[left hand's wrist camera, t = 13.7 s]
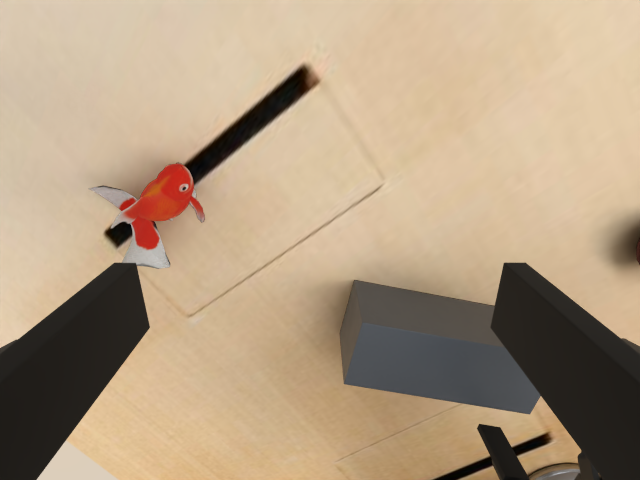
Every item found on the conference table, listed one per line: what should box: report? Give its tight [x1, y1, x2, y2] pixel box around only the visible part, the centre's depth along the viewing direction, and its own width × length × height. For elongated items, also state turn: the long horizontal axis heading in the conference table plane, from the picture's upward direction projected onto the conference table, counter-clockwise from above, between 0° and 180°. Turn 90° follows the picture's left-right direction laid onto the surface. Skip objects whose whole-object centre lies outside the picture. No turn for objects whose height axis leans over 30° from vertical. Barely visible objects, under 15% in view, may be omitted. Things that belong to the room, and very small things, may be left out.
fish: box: [89, 163, 205, 269], centre depth 39 cm, size 11×16×10 cm
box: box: [340, 280, 541, 414], centre depth 44 cm, size 23×9×10 cm, turn 78°
